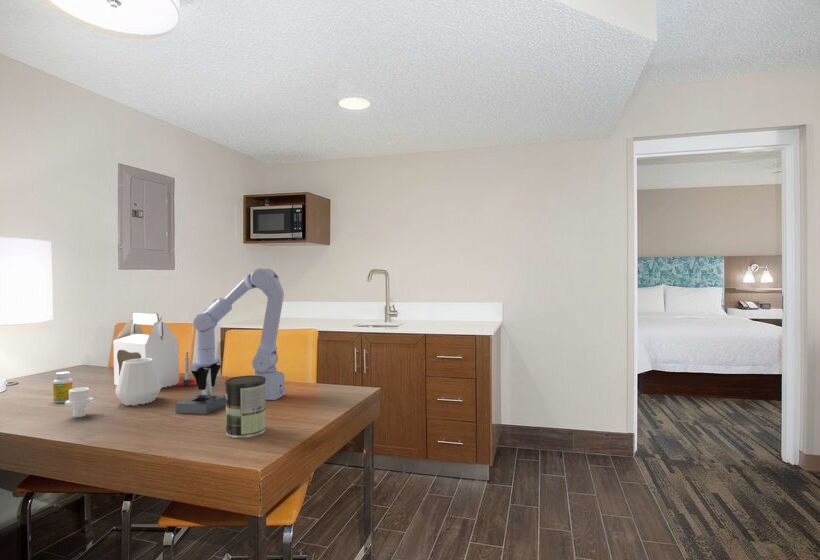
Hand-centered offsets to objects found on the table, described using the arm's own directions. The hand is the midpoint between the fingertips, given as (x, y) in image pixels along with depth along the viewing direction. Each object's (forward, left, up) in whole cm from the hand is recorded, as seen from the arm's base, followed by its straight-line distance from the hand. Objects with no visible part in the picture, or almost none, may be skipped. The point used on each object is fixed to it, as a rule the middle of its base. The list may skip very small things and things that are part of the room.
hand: (206, 387), depth 165 cm
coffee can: (-33, +31, -4) cm, 45 cm away
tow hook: (+20, -19, -4) cm, 28 cm away
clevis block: (-7, +13, -3) cm, 15 cm away
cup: (+20, +8, -4) cm, 22 cm away
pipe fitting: (+26, +25, -4) cm, 36 cm away
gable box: (+36, -15, -4) cm, 39 cm away
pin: (0, 0, -3) cm, 3 cm away
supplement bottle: (+47, +11, -4) cm, 48 cm away
